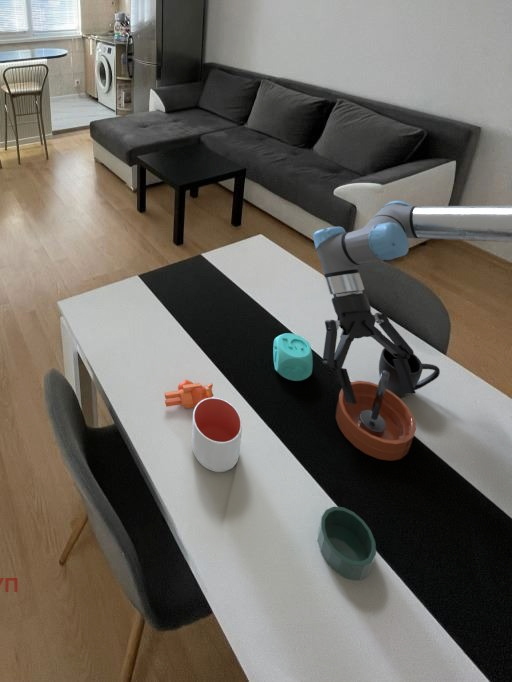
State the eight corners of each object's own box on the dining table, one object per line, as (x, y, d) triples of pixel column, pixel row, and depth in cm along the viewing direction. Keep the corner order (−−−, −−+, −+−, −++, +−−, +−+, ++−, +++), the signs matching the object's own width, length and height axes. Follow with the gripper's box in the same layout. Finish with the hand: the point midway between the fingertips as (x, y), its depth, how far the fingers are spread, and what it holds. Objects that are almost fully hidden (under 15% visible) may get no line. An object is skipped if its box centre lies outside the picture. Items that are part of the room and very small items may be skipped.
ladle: (383, 421, 96) (399, 366, 90) (384, 441, 92) (401, 385, 86) (358, 412, 99) (372, 358, 92) (358, 431, 95) (372, 376, 88)
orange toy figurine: (167, 396, 99) (217, 389, 100) (160, 377, 106) (206, 370, 107) (168, 417, 99) (218, 409, 100) (161, 396, 106) (208, 389, 108)
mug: (437, 411, 98) (448, 382, 95) (378, 398, 102) (386, 369, 98) (425, 381, 106) (434, 352, 102) (370, 370, 109) (377, 342, 106)
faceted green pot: (369, 537, 78) (374, 521, 76) (371, 593, 71) (376, 576, 69) (319, 513, 81) (322, 497, 79) (315, 564, 74) (319, 548, 73)
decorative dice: (272, 353, 115) (275, 330, 112) (303, 357, 114) (307, 334, 111) (276, 378, 108) (279, 355, 105) (310, 383, 106) (314, 360, 103)
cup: (236, 482, 87) (239, 450, 83) (187, 465, 90) (188, 434, 86) (240, 435, 95) (243, 404, 92) (196, 422, 99) (197, 391, 95)
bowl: (406, 414, 98) (411, 395, 96) (412, 475, 87) (419, 456, 84) (336, 389, 105) (340, 372, 102) (334, 443, 93) (338, 424, 91)
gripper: (386, 289, 104) (421, 386, 96) (290, 302, 102) (317, 403, 94) (407, 286, 97) (447, 391, 89) (305, 300, 95) (336, 409, 87)
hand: (380, 397), depth 92 cm, fingers open, 13 cm apart
